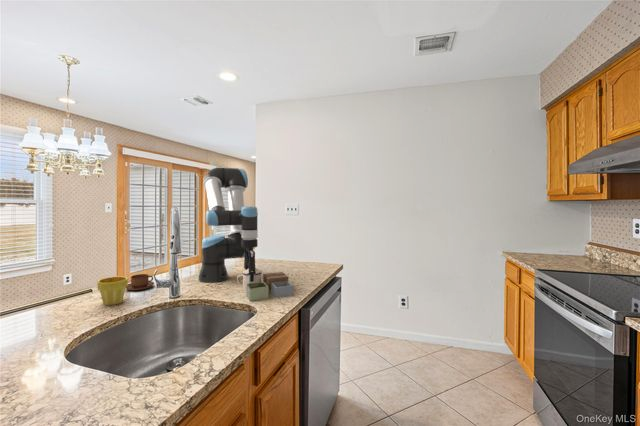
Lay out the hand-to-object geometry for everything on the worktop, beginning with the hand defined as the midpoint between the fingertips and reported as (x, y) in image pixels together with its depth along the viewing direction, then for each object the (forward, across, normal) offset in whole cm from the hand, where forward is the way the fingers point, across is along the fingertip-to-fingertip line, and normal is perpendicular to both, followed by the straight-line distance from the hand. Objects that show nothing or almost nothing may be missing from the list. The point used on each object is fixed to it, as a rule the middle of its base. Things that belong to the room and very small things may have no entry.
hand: (249, 285), depth 143 cm
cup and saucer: (+2, -22, -48) cm, 53 cm away
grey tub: (+3, +12, +12) cm, 18 cm away
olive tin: (+3, +13, +1) cm, 14 cm away
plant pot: (+2, -4, -56) cm, 56 cm away
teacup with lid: (+3, -1, 0) cm, 3 cm away
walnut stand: (+2, +3, +12) cm, 12 cm away
